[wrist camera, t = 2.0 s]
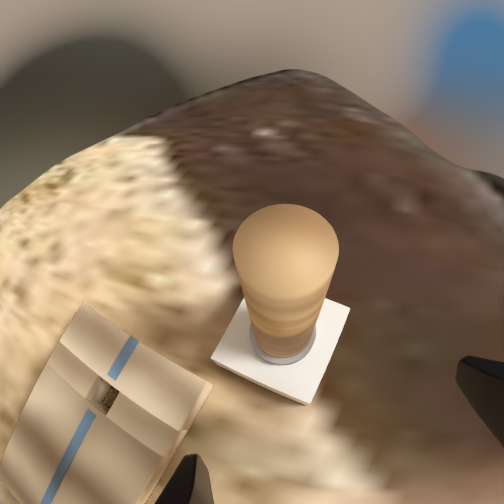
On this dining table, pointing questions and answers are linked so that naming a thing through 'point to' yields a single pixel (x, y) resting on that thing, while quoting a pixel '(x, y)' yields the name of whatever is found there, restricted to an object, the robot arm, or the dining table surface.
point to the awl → (284, 277)
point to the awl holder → (282, 376)
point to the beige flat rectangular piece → (100, 419)
